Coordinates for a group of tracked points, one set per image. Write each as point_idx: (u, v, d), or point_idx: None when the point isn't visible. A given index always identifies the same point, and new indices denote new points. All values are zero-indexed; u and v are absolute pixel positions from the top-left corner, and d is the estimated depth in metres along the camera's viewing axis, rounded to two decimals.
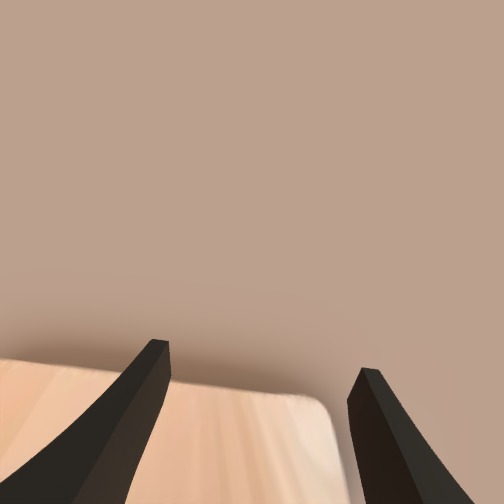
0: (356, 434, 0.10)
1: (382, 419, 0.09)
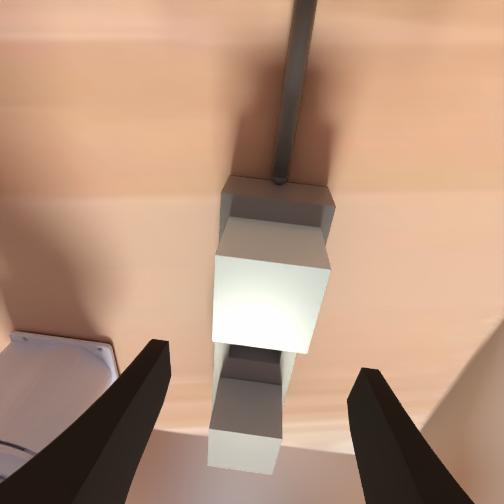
0: (356, 434, 0.10)
1: (382, 419, 0.09)
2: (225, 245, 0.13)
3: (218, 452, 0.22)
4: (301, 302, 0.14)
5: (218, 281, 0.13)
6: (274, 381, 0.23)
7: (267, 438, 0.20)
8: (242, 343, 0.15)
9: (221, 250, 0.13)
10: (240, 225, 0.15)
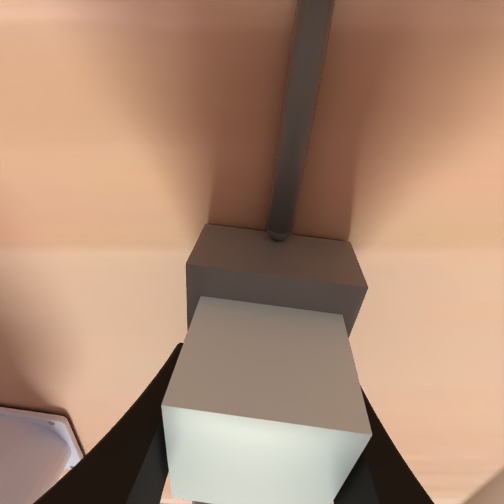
0: None
1: None
2: (185, 373, 0.08)
3: None
4: (316, 468, 0.08)
5: (172, 436, 0.08)
6: None
7: None
8: (219, 503, 0.10)
9: (175, 389, 0.07)
10: (216, 317, 0.10)
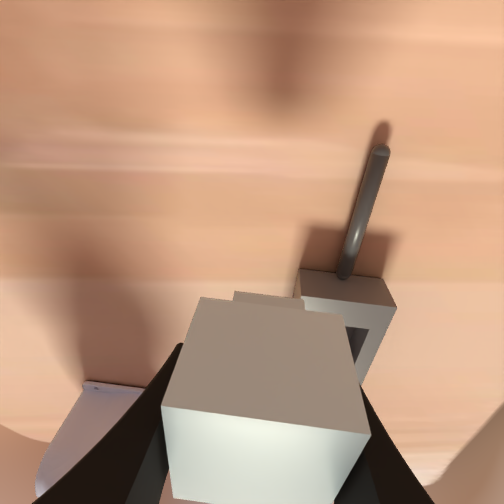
0: None
1: None
2: (184, 373, 0.08)
3: None
4: (316, 468, 0.08)
5: (172, 437, 0.08)
6: None
7: None
8: (220, 503, 0.10)
9: (174, 390, 0.07)
10: (215, 318, 0.10)
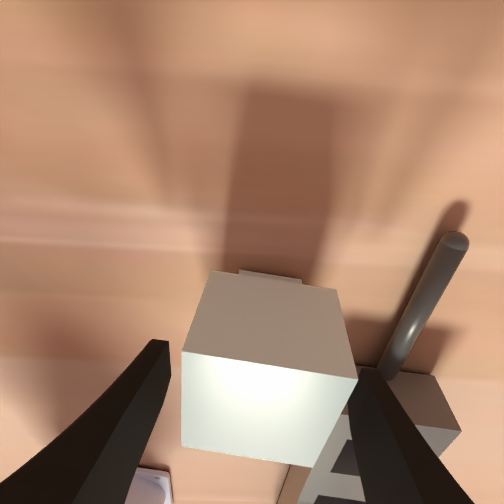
0: (356, 434, 0.10)
1: (382, 419, 0.09)
2: (200, 328, 0.09)
3: None
4: (310, 414, 0.09)
5: (187, 382, 0.09)
6: None
7: None
8: (223, 451, 0.11)
9: (192, 340, 0.09)
10: (225, 287, 0.11)
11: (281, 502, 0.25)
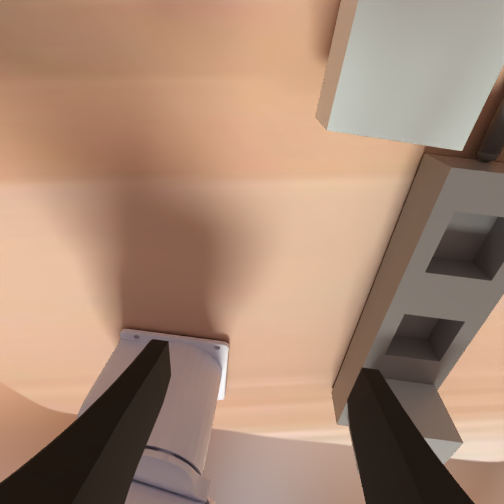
0: (356, 434, 0.10)
1: (382, 419, 0.09)
2: None
3: None
4: (488, 32, 0.09)
5: None
6: (426, 380, 0.22)
7: (445, 442, 0.18)
8: (371, 133, 0.11)
9: None
10: None
11: (345, 369, 0.25)
